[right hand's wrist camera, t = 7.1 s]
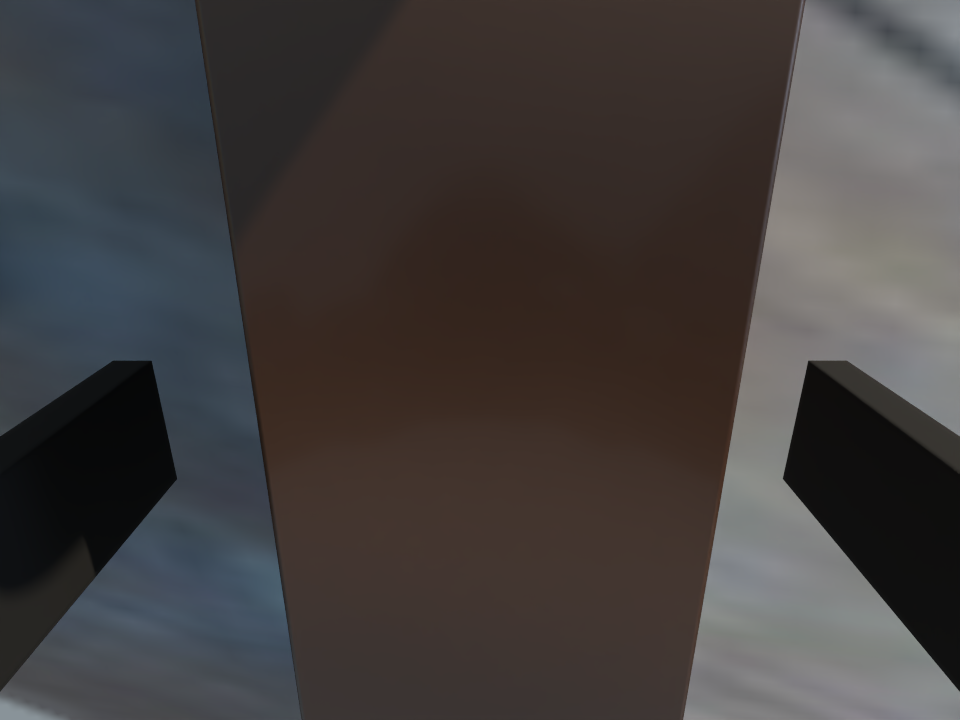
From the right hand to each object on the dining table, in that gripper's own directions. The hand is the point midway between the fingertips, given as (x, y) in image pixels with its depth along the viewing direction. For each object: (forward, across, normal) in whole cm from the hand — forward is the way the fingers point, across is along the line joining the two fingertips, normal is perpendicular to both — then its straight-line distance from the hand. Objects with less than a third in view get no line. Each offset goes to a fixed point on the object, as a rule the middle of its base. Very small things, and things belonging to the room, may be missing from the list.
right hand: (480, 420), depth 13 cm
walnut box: (+5, 0, -11) cm, 12 cm away
